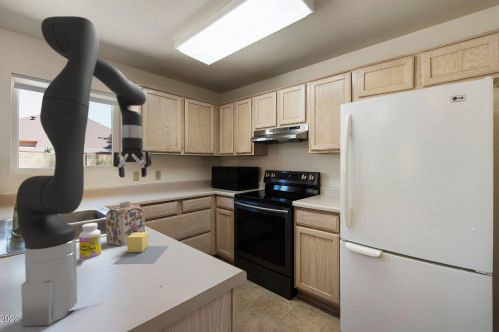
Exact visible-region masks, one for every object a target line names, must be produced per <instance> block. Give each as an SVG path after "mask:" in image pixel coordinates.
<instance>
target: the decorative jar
mask: <svg viewBox="0 0 499 332" xmlns="http://www.w3.org/2000/svg"><path fill="white" fill-rule="evenodd" d="M145 219H146V218H145V210H144V209H143V207H141V205H140V204H132V201H121V202H119V205H116V206H113V207H111V208H110V209H109V210H108V211H107V212H106V213H105V231H106V232H105V237H106V244H109V245H113V246H118V247H125V246H127V237H128V236H130V235H131V234H133V233H138V232H146V221H145Z"/></svg>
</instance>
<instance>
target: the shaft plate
mask: <svg viewBox="0 0 499 332" xmlns="http://www.w3.org/2000/svg"><path fill="white" fill-rule="evenodd" d="M169 247H170V245H151V246H150V245H148V247H147V248H146V249H145V250H144V251H143V252H128V251H127V252H126V253H125V254H124V255H122V256H121V257H120V258H119V259H118V260H116V261H115V262H113V265H131V264H132V265H137V264H139V265H140V264H142V265H143V264H148V265H149V264H152V265H153V264H155V263H156V262H157V261H158V259H160V258H161V256H162V255H163V254H164V253H165V252H166V251H167V250H168V248H169Z"/></svg>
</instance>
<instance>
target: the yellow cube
mask: <svg viewBox="0 0 499 332" xmlns="http://www.w3.org/2000/svg"><path fill="white" fill-rule="evenodd" d="M148 246H149V232H148V231H145V232H138V233H133V234H131V235H130V236H128V237H127V253H128V252H143V251H144V250H145V249H146V248H147V247H148Z"/></svg>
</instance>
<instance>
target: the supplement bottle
mask: <svg viewBox="0 0 499 332" xmlns="http://www.w3.org/2000/svg"><path fill="white" fill-rule="evenodd" d="M81 226H82V227H81V229H82V231H80V233H79V236H78V238H79V240H78V242H79V243H78V245H79V248H78V249H79V251H78V252H79V254H78V255H79V258H78V259H79V261H81V262H85V261H84V260H88V259H92V258H93V259H94V258H97V257H98V256H100V255H101V254H102V237H101V236H102V235H101V230H100V229H98V223H97V222H89V223H88V222H87V223H83V225H81Z"/></svg>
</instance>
